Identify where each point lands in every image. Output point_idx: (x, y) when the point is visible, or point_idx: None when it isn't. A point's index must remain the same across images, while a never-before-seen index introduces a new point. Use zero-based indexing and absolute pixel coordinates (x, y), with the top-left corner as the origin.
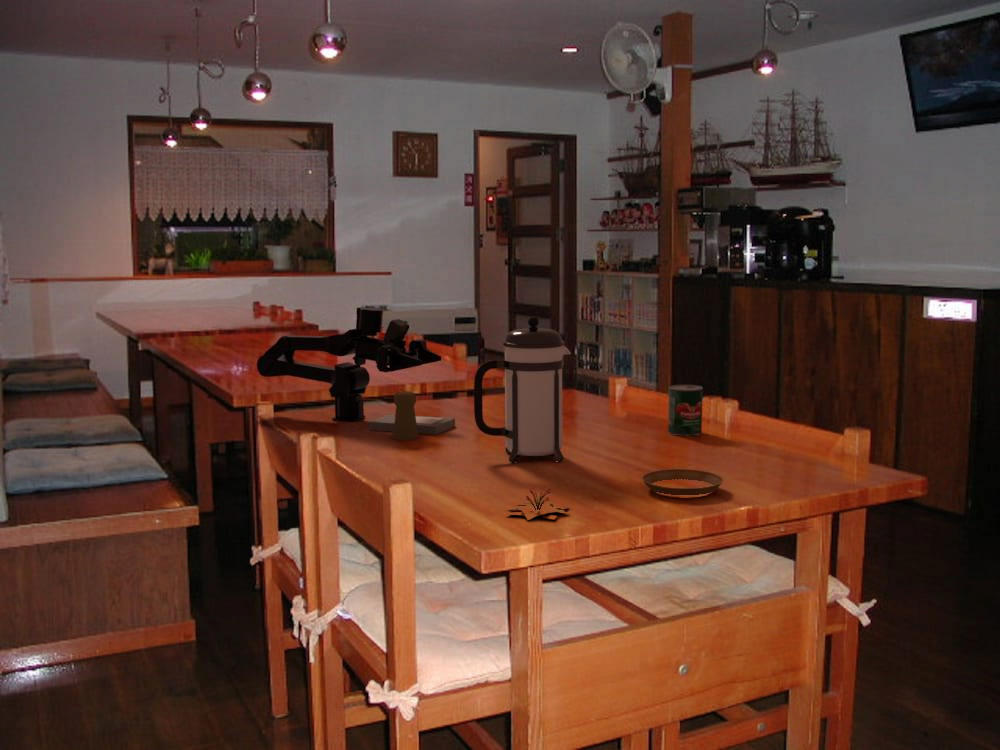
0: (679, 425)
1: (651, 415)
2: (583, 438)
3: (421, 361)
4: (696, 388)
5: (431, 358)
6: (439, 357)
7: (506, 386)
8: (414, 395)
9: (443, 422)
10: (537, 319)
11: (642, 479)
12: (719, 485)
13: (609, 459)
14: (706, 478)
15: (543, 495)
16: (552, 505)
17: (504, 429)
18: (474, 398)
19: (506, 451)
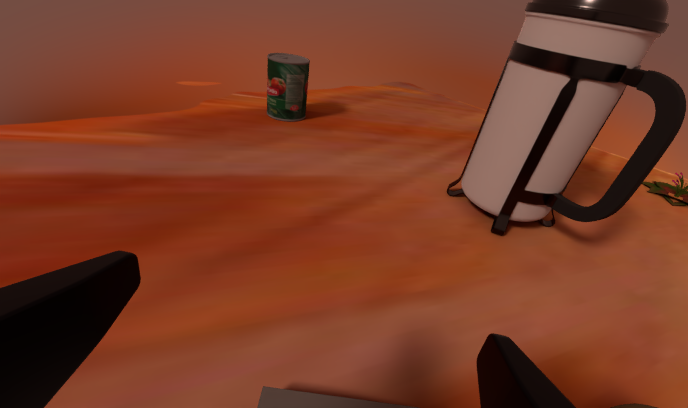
0: (305, 106)
1: (156, 119)
2: (346, 171)
3: (503, 337)
4: (289, 56)
5: (35, 369)
6: (130, 267)
7: (603, 119)
8: (634, 404)
9: (357, 405)
10: None
11: None
12: None
13: (450, 158)
14: None
15: (680, 180)
16: (655, 187)
17: (558, 194)
18: (650, 170)
19: (502, 234)
